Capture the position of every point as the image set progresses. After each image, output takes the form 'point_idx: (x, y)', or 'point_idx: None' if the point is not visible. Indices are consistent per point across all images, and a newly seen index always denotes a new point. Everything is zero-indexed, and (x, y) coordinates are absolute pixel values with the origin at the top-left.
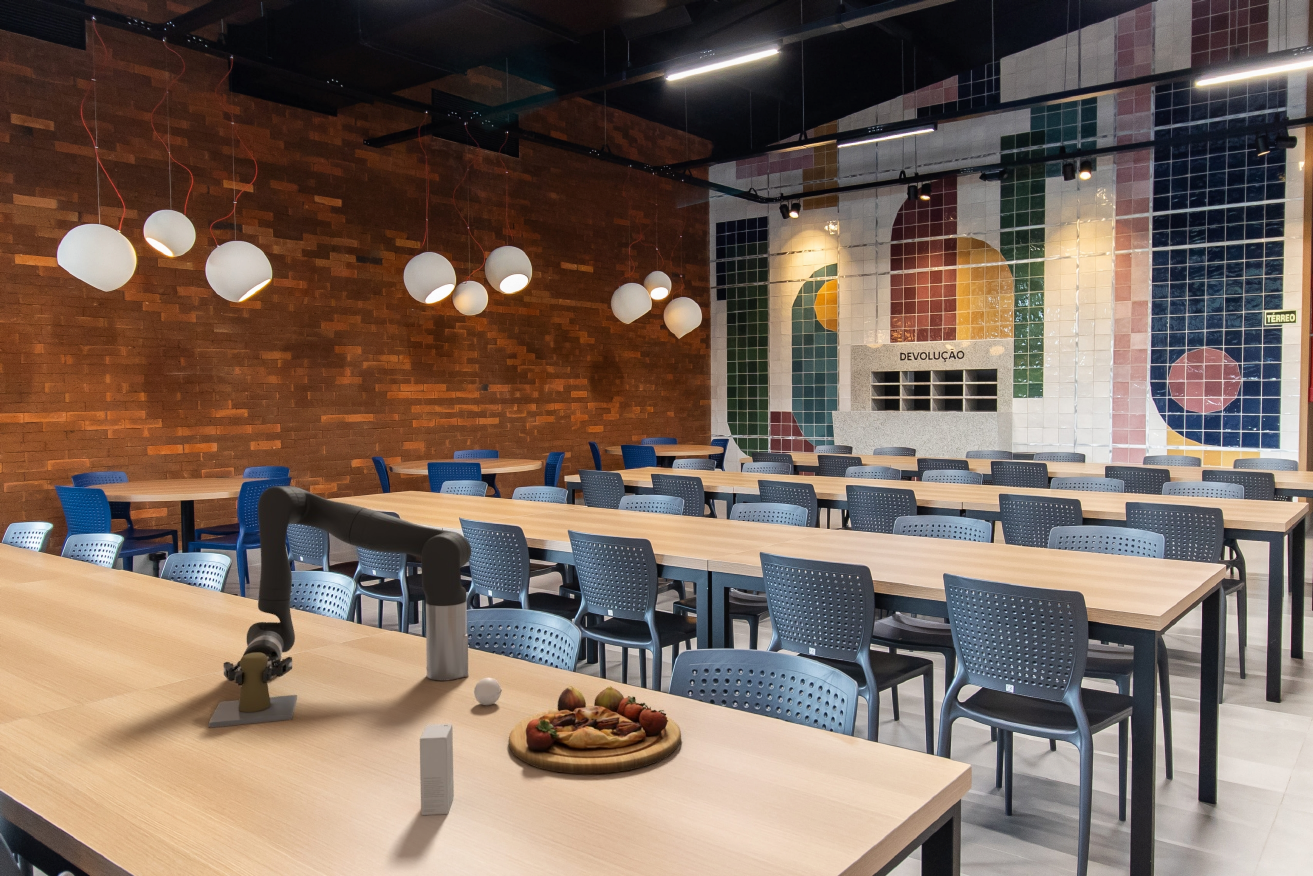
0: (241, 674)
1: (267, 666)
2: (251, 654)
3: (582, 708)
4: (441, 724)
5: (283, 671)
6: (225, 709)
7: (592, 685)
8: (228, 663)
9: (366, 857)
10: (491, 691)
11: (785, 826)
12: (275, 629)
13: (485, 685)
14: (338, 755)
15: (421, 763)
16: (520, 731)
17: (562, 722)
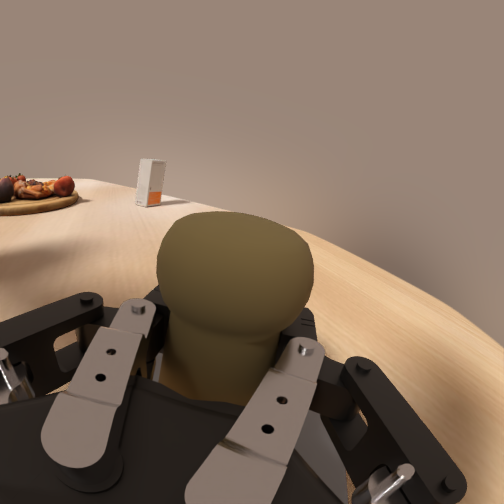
0: None
1: (150, 308)
2: (257, 217)
3: (20, 183)
4: (145, 159)
5: (58, 358)
6: (312, 460)
7: None
8: (431, 472)
9: (199, 204)
10: None
11: (76, 181)
12: None
13: None
14: (153, 242)
15: (163, 175)
16: (42, 202)
17: (43, 184)
